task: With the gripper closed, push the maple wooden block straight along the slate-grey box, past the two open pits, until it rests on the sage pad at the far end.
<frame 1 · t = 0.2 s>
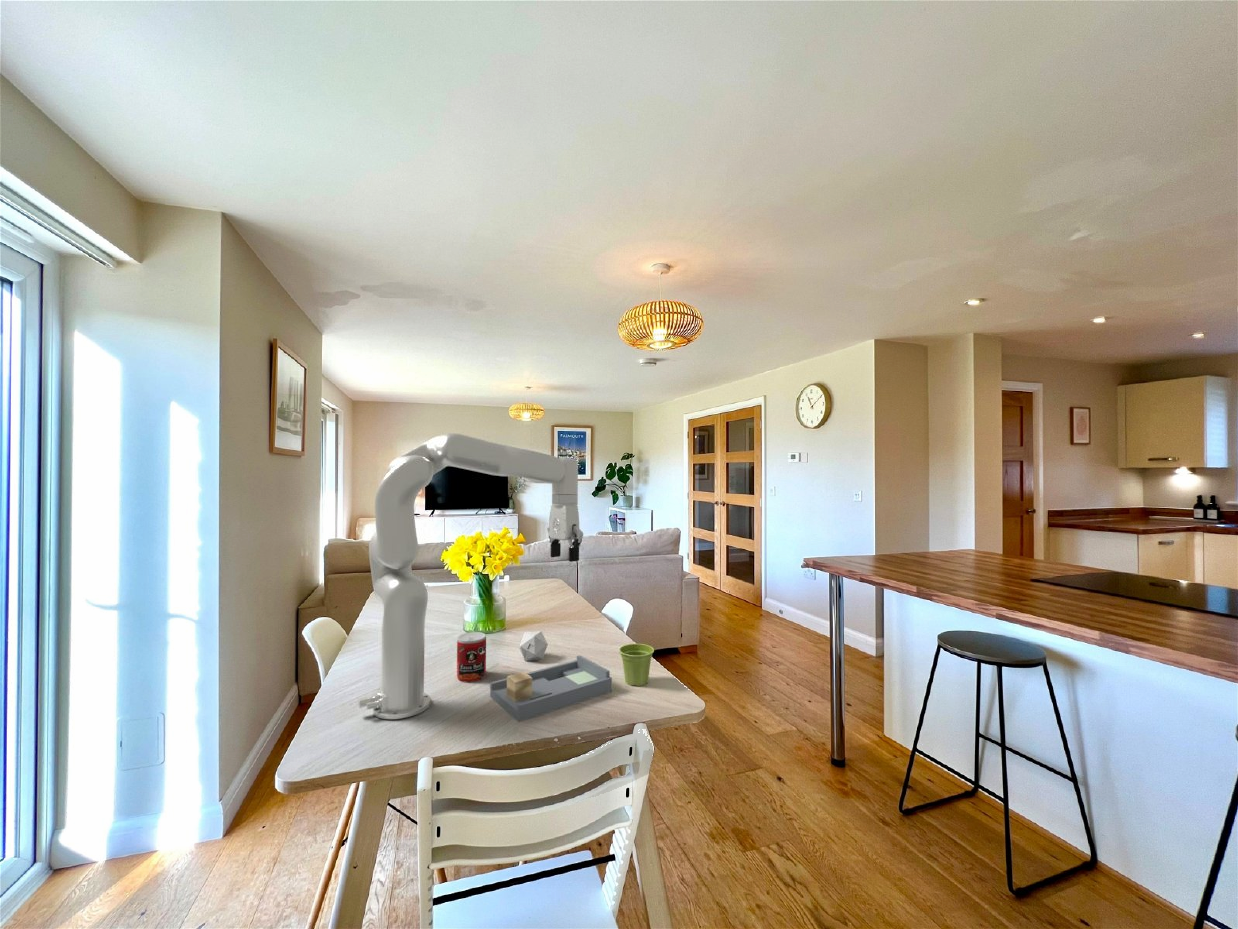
hand: (564, 558, 147), 31 cm above the table, tool pointing down, fingers open, 9 cm apart
block: (519, 695, 122), point 2 cm above the table, touching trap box
canned food: (471, 677, 138), on the table
plant pot: (636, 682, 135), on the table
die: (533, 659, 152), on the table
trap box: (551, 694, 127), on the table
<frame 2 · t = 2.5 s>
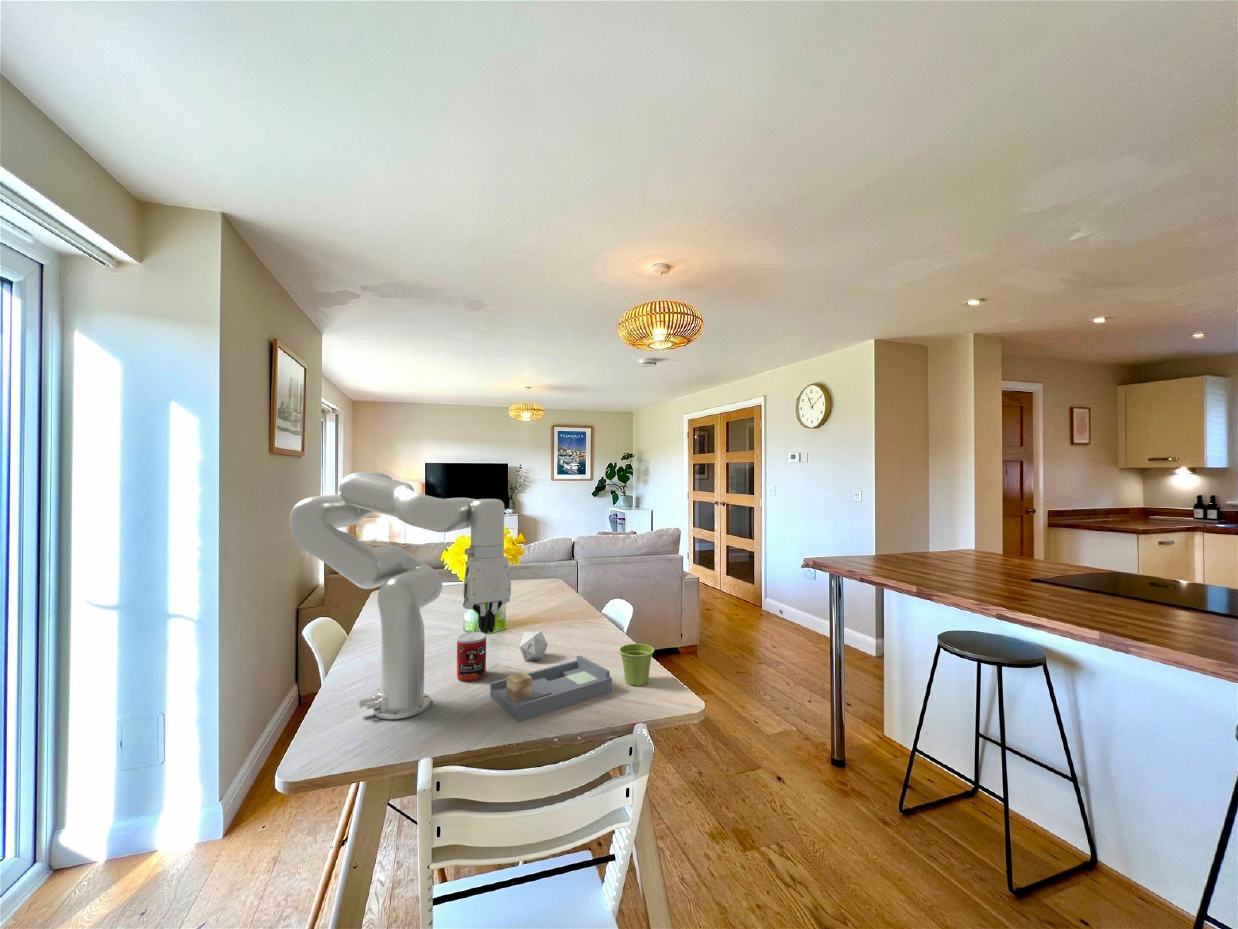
hand: (486, 631, 117), 19 cm above the table, tool pointing down, fingers closed
nothing on the table moved.
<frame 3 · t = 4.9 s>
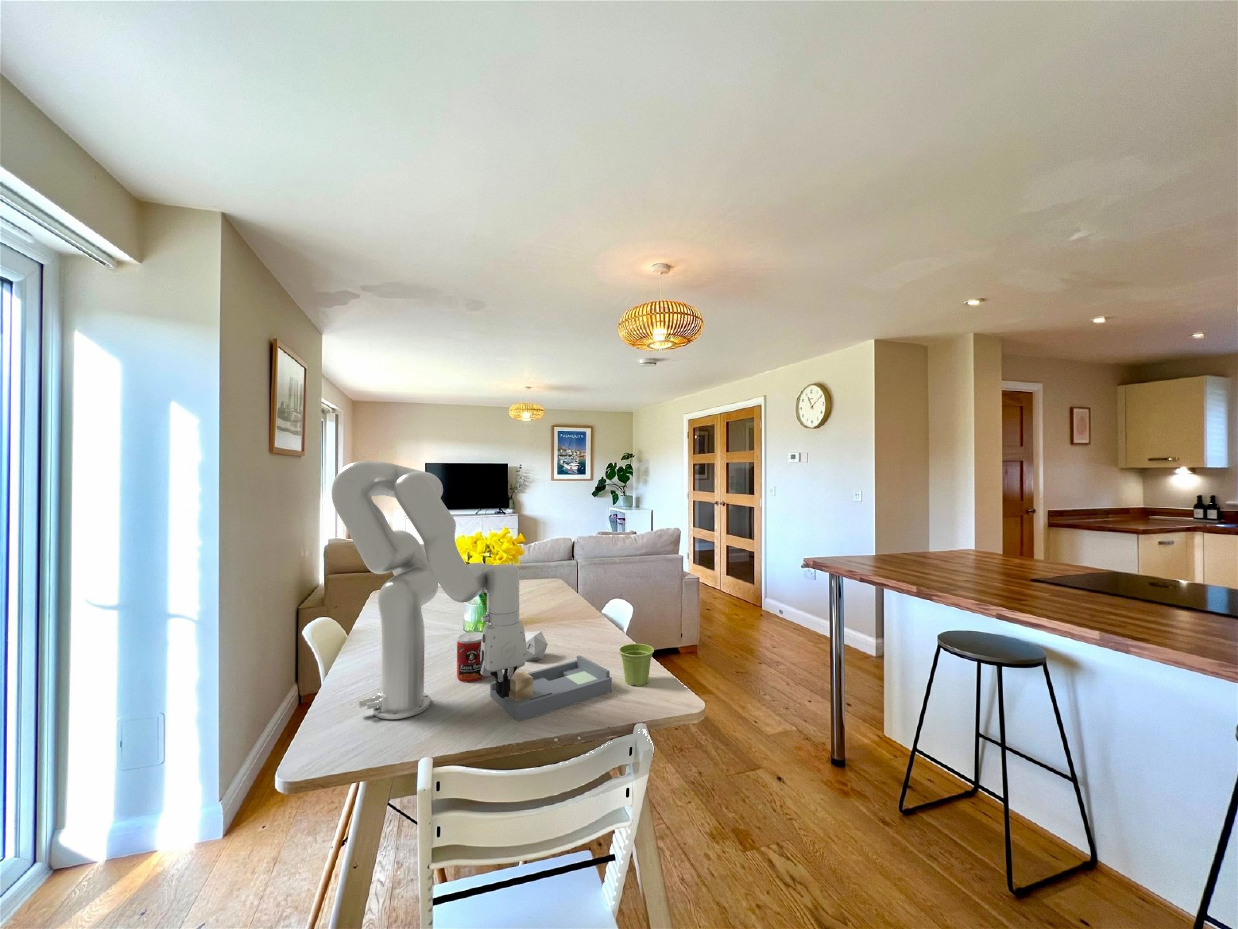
hand: (503, 695, 119), 3 cm above the table, tool pointing down, fingers closed
block: (520, 695, 122), point 2 cm above the table, touching gripper, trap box
everything else where it was.
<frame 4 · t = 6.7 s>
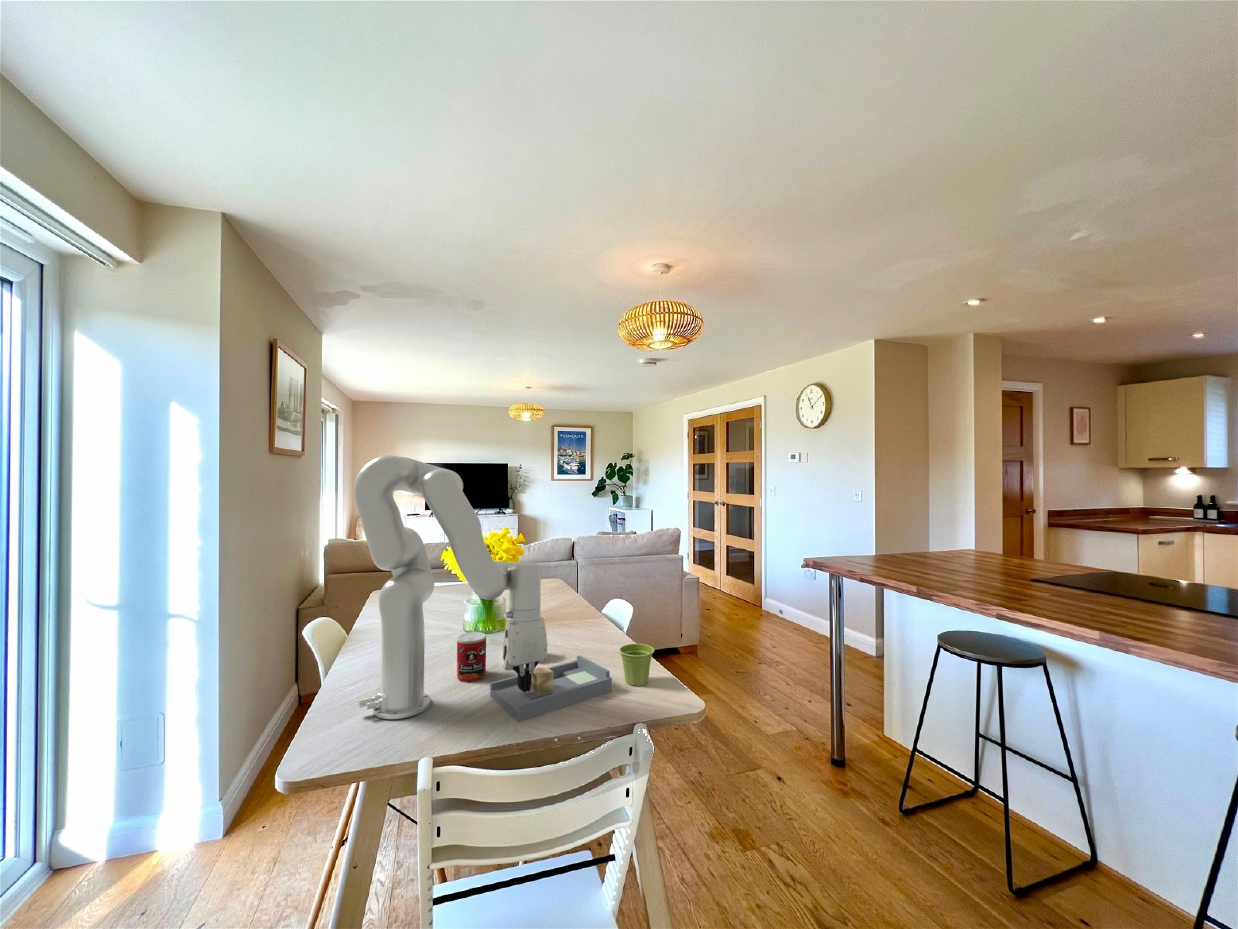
hand: (524, 689, 122), 3 cm above the table, tool pointing down, fingers closed
block: (540, 689, 125), point 2 cm above the table, touching gripper
everything else where it was.
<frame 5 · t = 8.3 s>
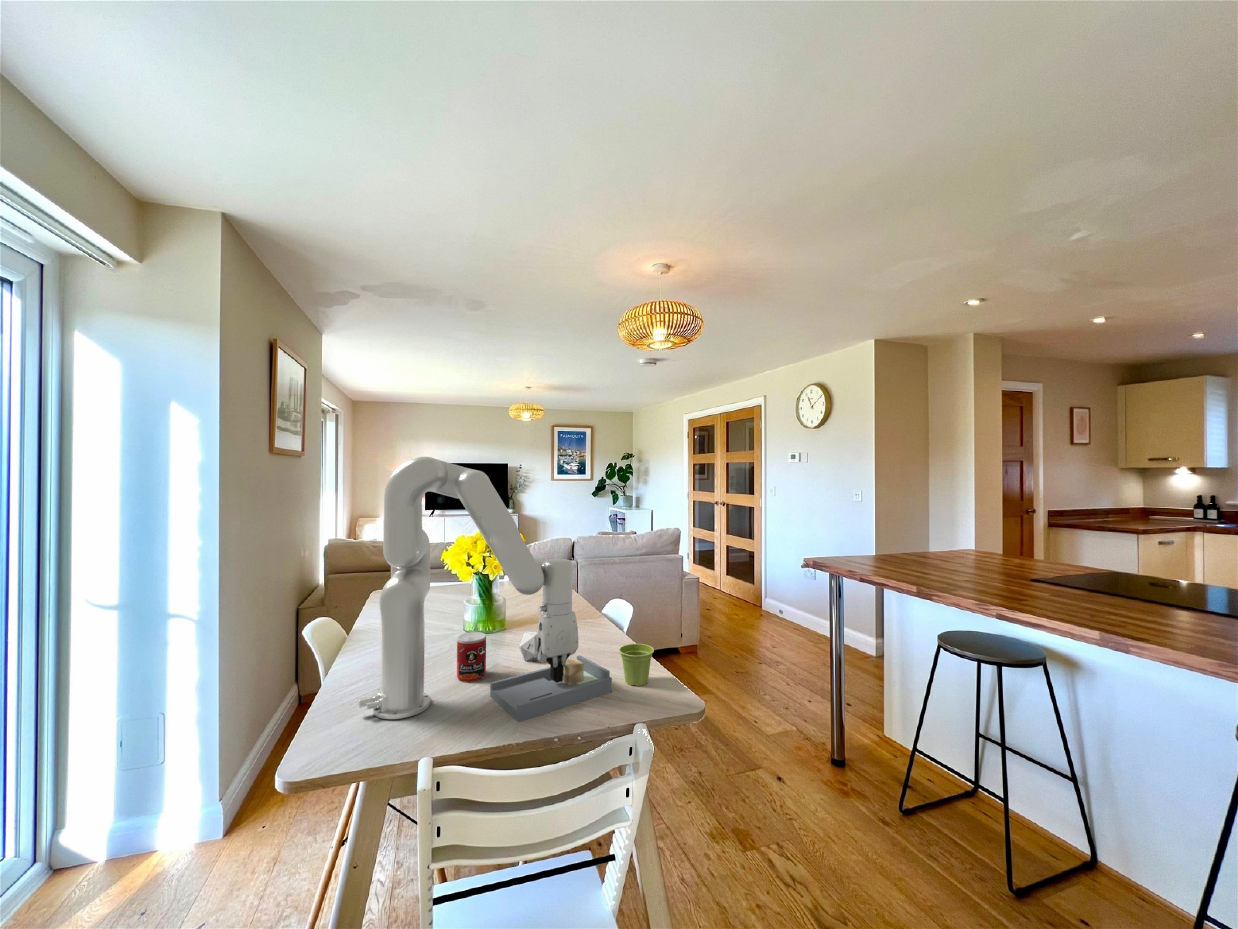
hand: (556, 680, 128), 3 cm above the table, tool pointing down, fingers closed
block: (571, 680, 131), point 2 cm above the table, touching gripper
everything else where it was.
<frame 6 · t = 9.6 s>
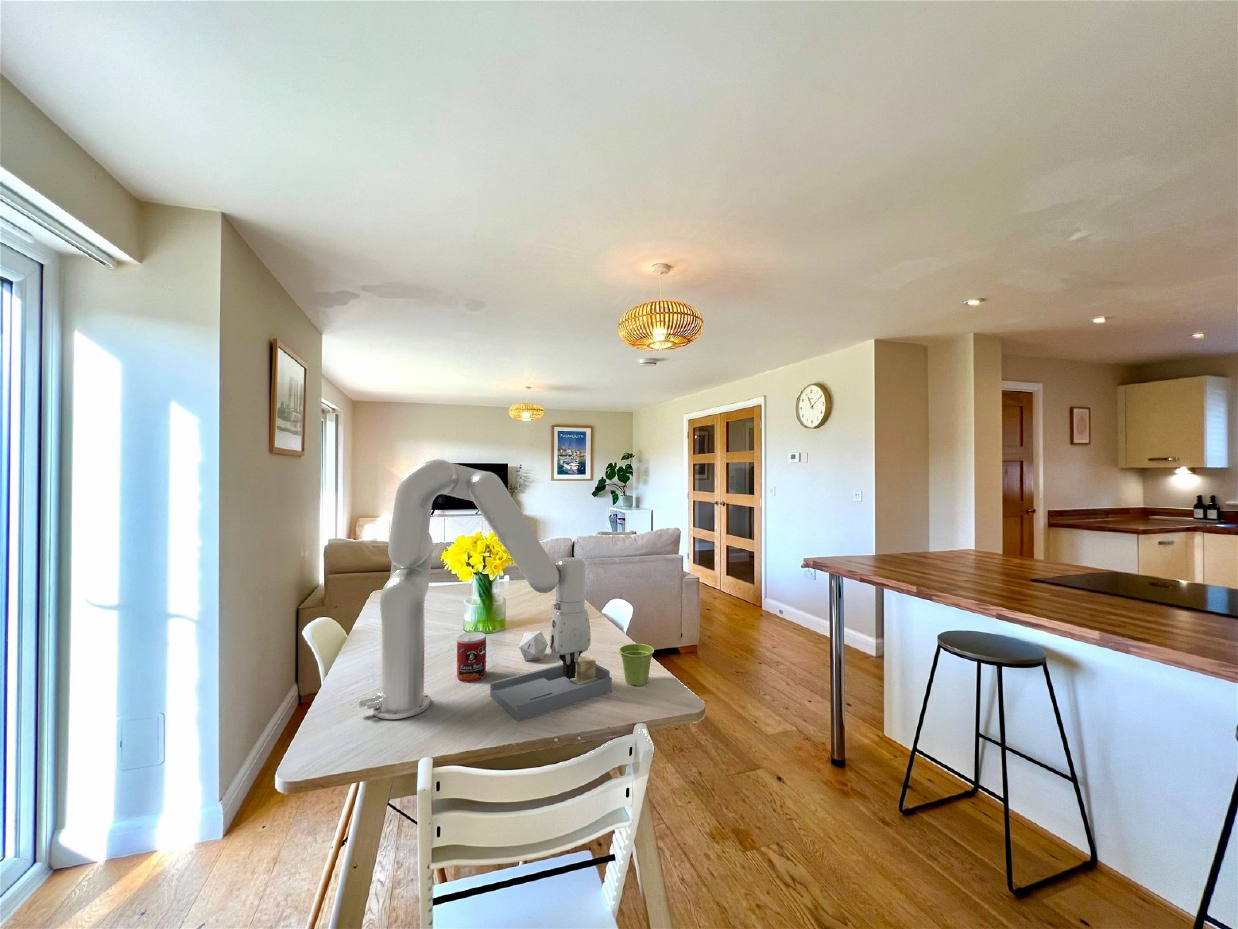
hand: (569, 677, 130), 3 cm above the table, tool pointing down, fingers closed
block: (583, 676, 133), point 2 cm above the table, touching gripper, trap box
everything else where it was.
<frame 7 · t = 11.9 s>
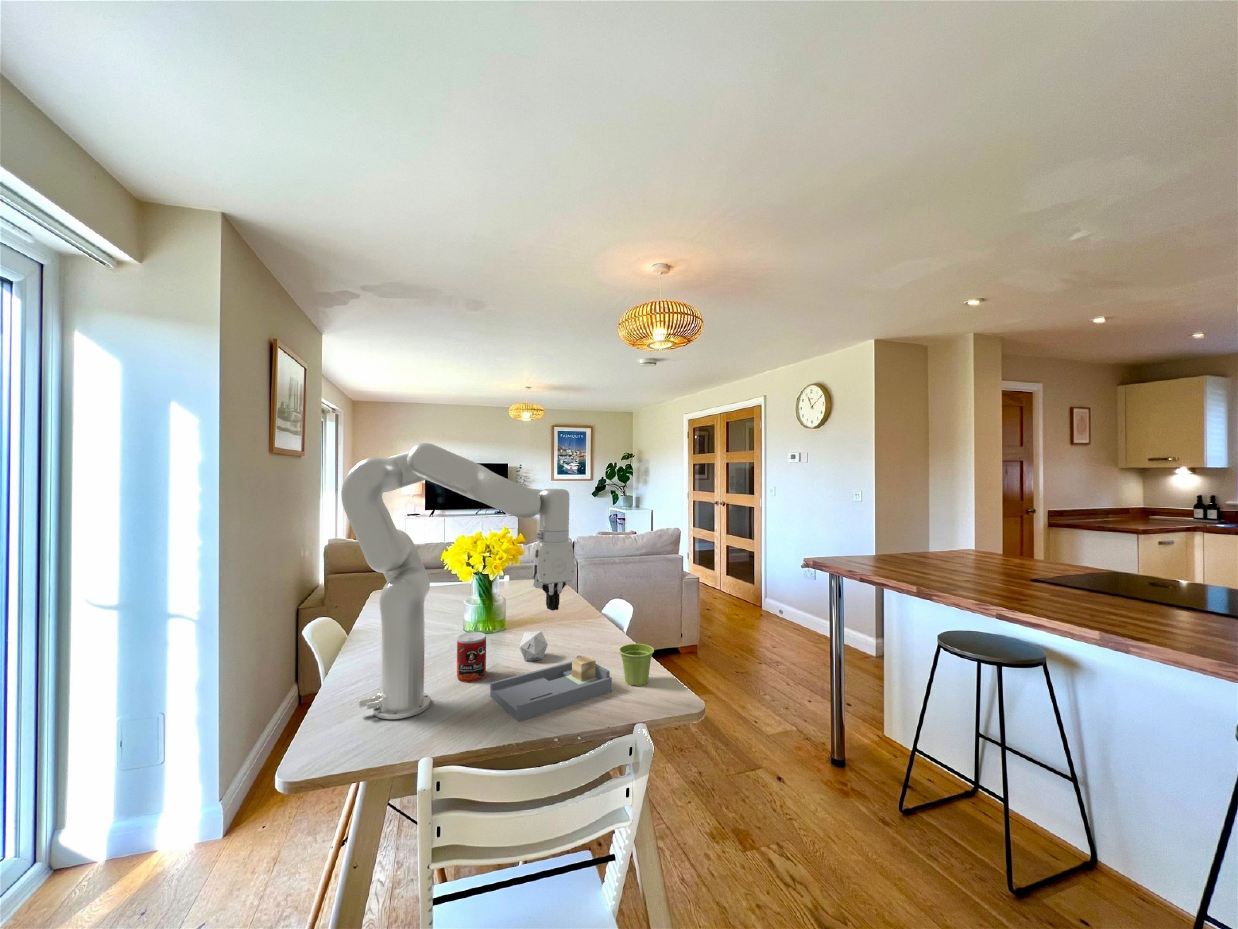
hand: (552, 609, 128), 21 cm above the table, tool pointing down, fingers closed
block: (583, 676, 133), point 2 cm above the table, touching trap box
everything else where it was.
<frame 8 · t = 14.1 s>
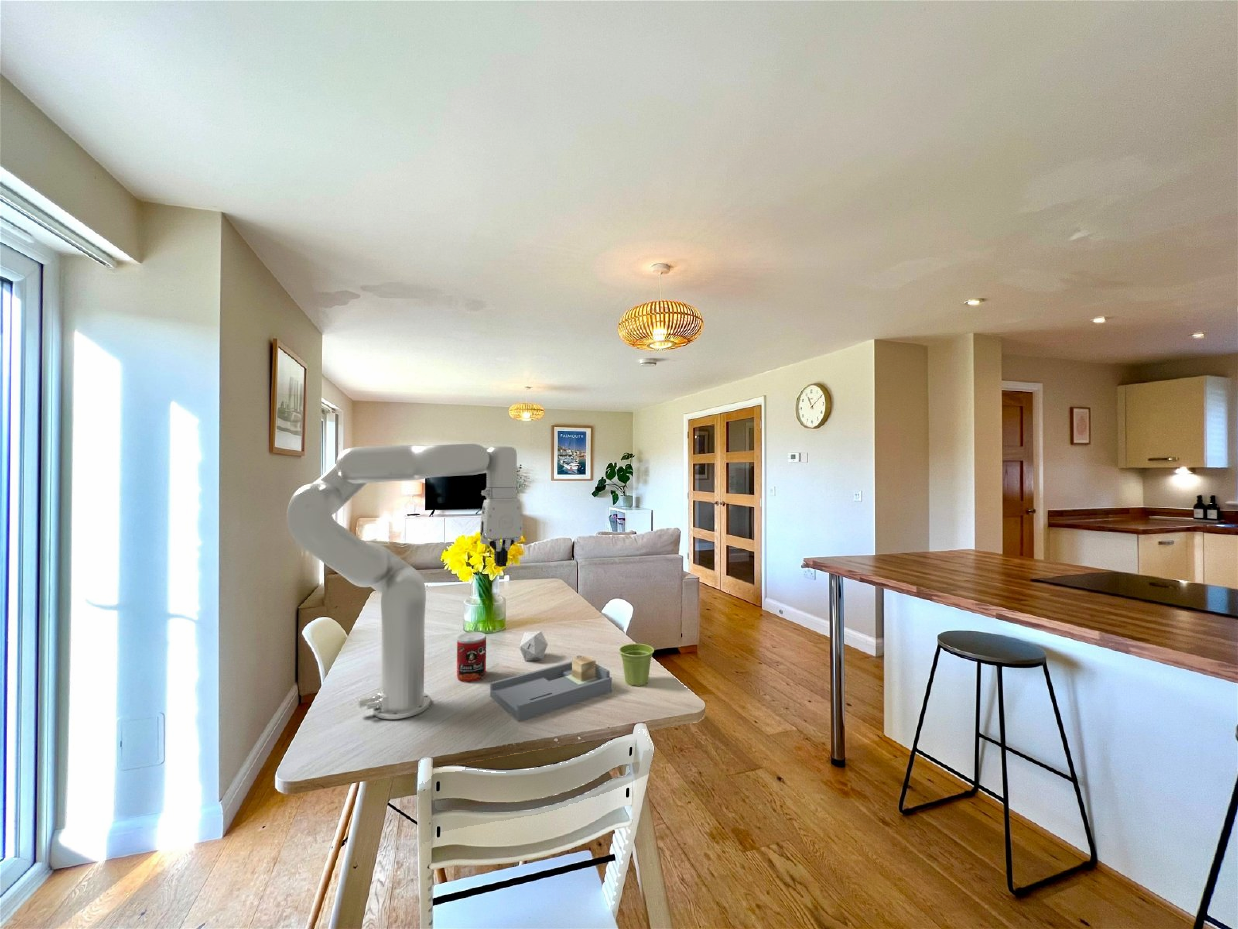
hand: (500, 565, 129), 32 cm above the table, tool pointing down, fingers closed
nothing on the table moved.
at the end: block 1.0 cm from the target spot on the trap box, point 2.0 cm above the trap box's base; block tilted 0° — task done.
